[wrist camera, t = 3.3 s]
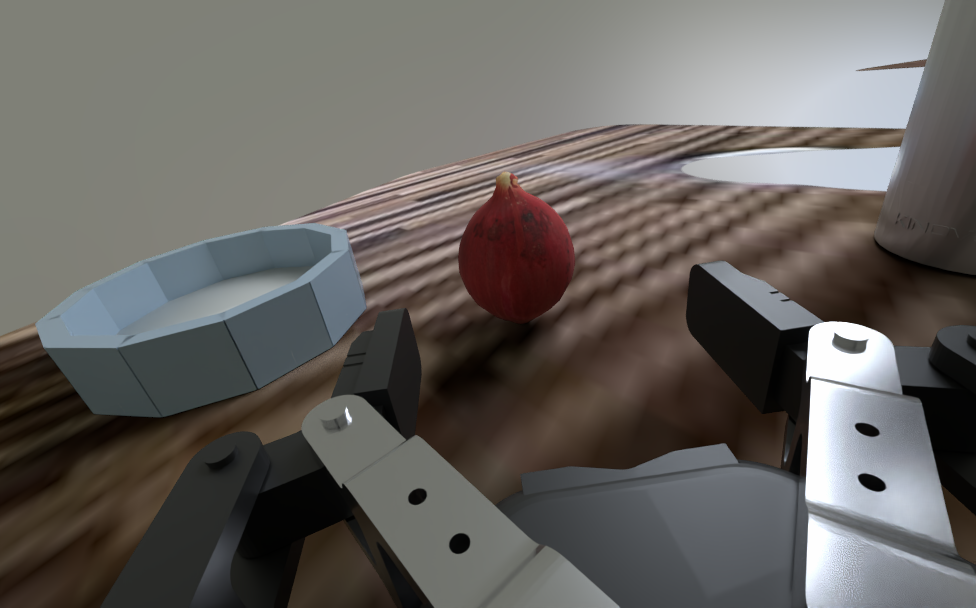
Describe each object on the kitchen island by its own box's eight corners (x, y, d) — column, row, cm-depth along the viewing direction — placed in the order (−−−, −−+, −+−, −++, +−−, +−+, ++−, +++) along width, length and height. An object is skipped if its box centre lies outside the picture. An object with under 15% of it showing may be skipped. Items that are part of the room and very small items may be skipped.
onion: (598, 333, 22) (594, 171, 18) (489, 366, 21) (461, 200, 17) (549, 288, 27) (539, 153, 23) (459, 312, 26) (433, 175, 22)
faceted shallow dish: (356, 256, 36) (343, 210, 35) (375, 355, 23) (354, 287, 21) (144, 307, 33) (116, 259, 31) (16, 459, 19) (-48, 389, 17)
